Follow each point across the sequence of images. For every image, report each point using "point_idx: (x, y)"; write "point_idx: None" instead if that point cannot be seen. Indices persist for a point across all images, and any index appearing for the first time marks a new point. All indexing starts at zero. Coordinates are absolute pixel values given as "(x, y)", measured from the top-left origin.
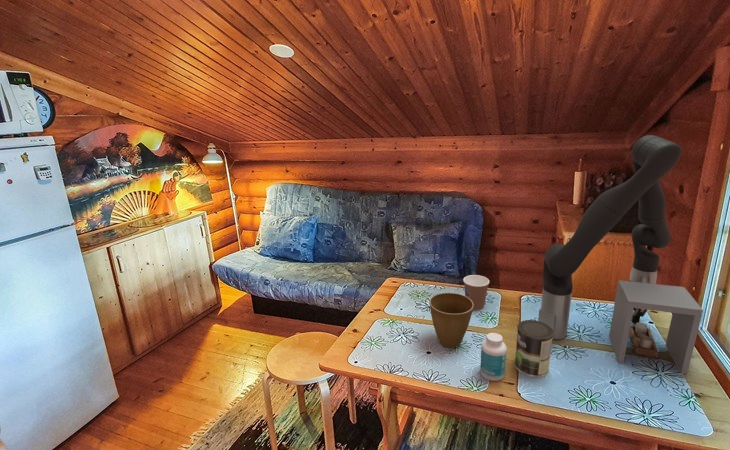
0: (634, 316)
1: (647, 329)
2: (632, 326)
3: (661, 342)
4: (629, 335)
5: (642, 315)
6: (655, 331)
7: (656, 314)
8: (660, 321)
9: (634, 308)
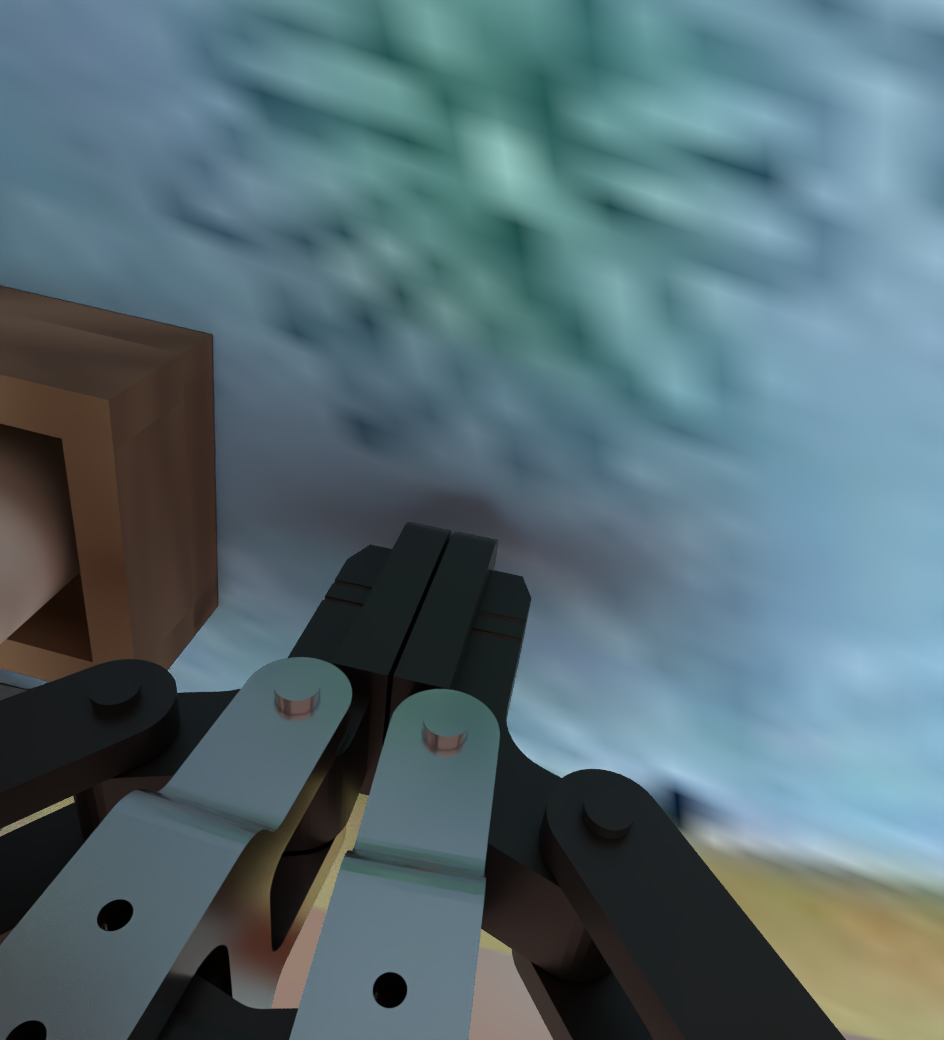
0: (329, 654)
1: (90, 663)
2: (77, 449)
3: None
4: (22, 307)
5: (33, 828)
6: None
7: (941, 974)
8: None
9: (114, 851)
